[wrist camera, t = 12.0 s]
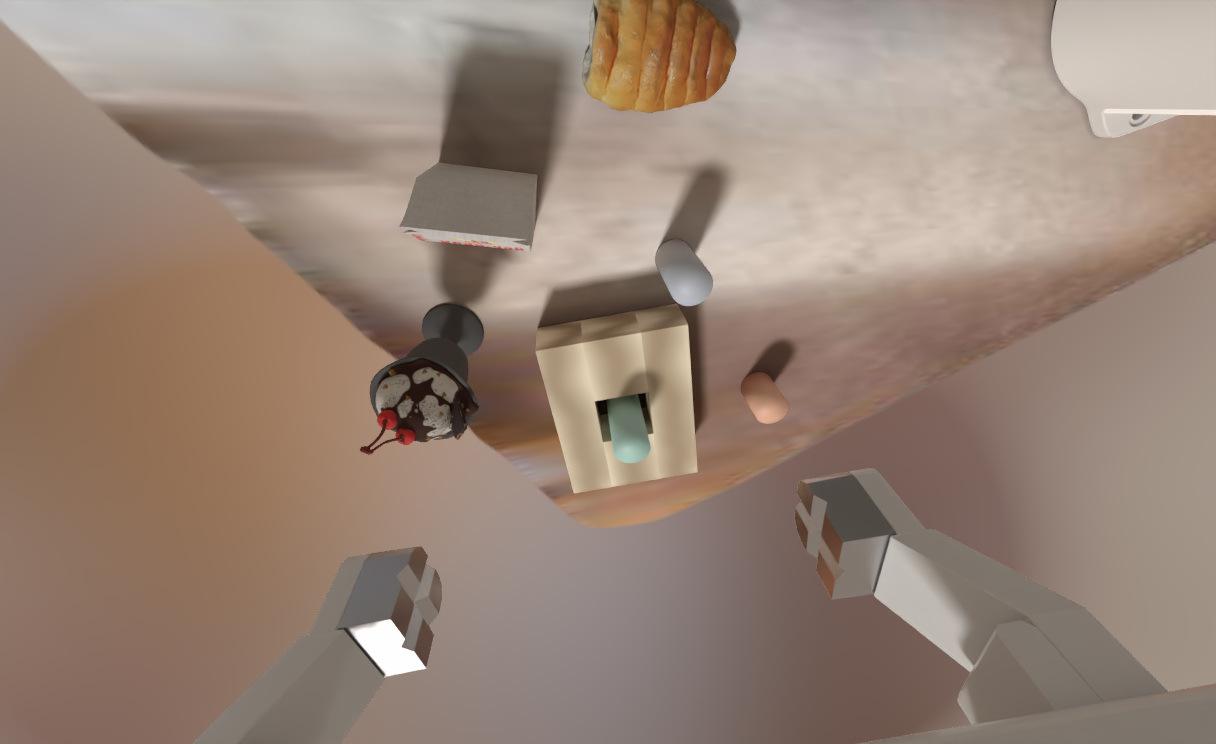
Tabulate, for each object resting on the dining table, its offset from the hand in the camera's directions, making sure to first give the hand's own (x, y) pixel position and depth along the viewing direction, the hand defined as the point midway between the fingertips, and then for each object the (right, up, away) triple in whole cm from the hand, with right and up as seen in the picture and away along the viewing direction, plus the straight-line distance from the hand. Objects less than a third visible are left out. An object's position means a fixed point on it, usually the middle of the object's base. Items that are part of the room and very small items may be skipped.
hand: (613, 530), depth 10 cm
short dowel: (+14, +2, +35) cm, 38 cm away
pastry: (+2, +24, +20) cm, 32 cm away
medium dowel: (+5, +13, +27) cm, 30 cm away
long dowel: (+1, +2, +34) cm, 34 cm away
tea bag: (-9, +16, +24) cm, 30 cm away
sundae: (-13, +7, +29) cm, 33 cm away
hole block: (+1, +2, +34) cm, 34 cm away
